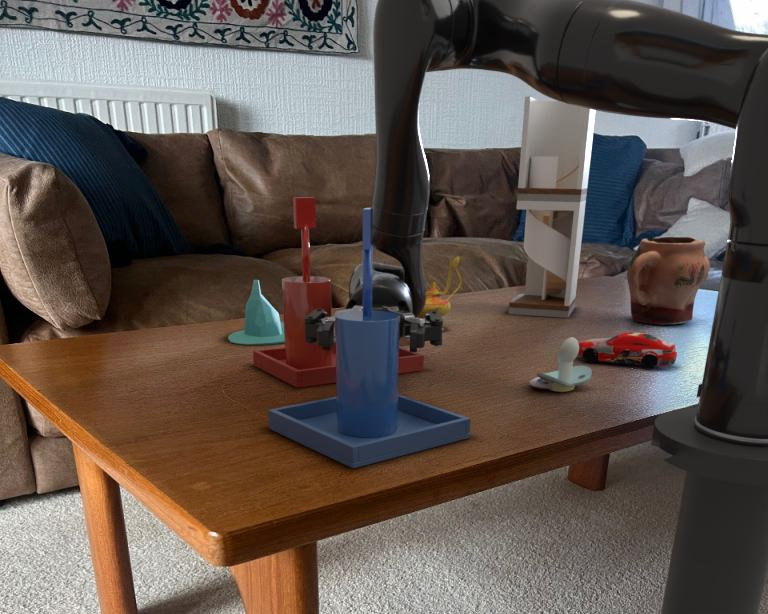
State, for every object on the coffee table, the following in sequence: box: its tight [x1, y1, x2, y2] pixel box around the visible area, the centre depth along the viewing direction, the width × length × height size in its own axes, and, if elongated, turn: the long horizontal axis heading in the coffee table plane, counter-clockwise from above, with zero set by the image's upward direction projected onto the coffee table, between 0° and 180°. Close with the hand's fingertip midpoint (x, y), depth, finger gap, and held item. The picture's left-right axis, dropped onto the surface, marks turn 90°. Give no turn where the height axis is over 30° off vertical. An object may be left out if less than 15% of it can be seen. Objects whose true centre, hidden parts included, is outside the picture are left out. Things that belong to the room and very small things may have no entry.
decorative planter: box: [626, 236, 711, 325], centre depth 133 cm, size 20×12×14 cm, turn 137°
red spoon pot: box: [281, 196, 333, 370], centre depth 96 cm, size 6×6×20 cm
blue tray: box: [267, 393, 471, 469], centre depth 77 cm, size 14×14×2 cm
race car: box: [577, 331, 678, 370], centre depth 106 cm, size 13×5×4 cm, turn 64°
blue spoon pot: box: [334, 207, 400, 438], centre depth 73 cm, size 6×6×20 cm
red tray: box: [252, 343, 425, 389], centre depth 102 cm, size 18×13×2 cm
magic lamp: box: [417, 256, 462, 332], centre depth 124 cm, size 7×18×11 cm, turn 132°
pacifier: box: [529, 336, 593, 393], centre depth 93 cm, size 7×6×6 cm
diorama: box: [227, 279, 285, 346], centre depth 121 cm, size 12×20×9 cm, turn 149°
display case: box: [508, 95, 597, 319], centre depth 138 cm, size 11×11×35 cm
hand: (369, 340), depth 76 cm, fingers open, 8 cm apart
